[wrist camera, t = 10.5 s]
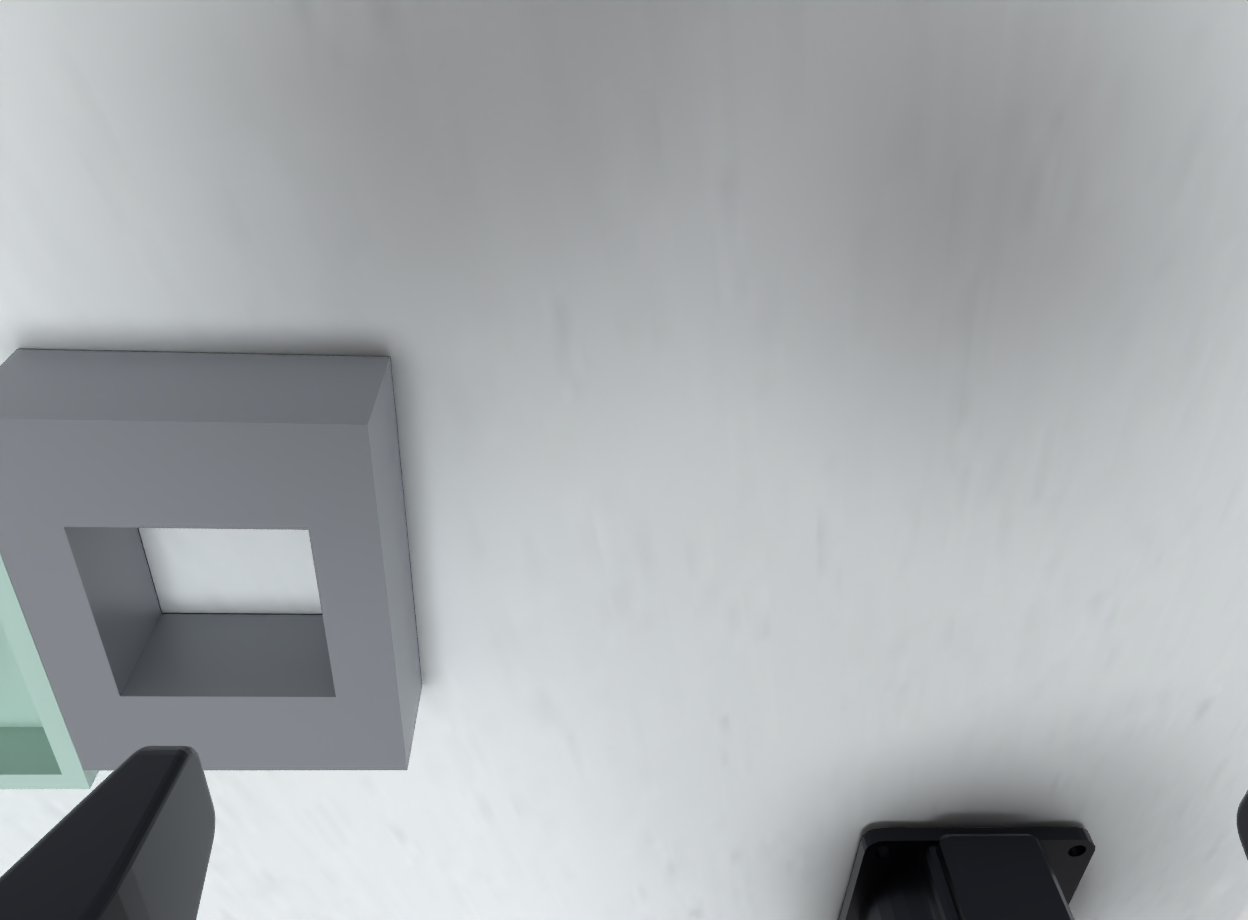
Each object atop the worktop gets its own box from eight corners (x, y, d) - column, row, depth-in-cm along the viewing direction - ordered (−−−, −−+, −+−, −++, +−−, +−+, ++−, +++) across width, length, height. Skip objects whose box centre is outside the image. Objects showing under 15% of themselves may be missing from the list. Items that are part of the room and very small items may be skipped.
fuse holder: (422, 689, 25) (407, 772, 23) (127, 688, 24) (84, 772, 22) (390, 356, 20) (367, 424, 18) (17, 349, 19) (-52, 417, 17)
